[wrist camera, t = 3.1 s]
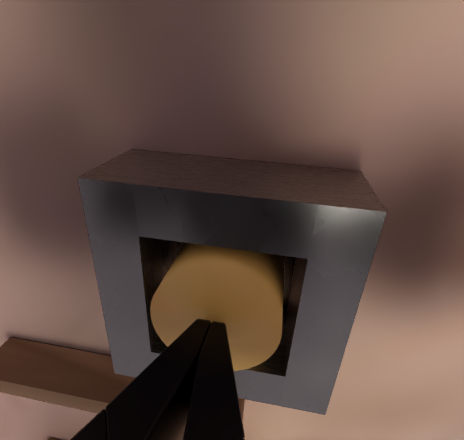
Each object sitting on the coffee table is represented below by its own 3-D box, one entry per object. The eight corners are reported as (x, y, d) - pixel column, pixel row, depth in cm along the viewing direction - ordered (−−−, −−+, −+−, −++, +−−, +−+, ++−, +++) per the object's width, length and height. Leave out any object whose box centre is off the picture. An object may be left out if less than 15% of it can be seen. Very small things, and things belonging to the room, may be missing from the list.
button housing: (318, 343, 14) (324, 414, 11) (148, 314, 15) (114, 373, 12) (360, 171, 10) (386, 212, 7) (131, 149, 11) (77, 178, 8)
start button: (278, 314, 13) (274, 381, 10) (182, 299, 13) (154, 358, 10) (291, 227, 11) (290, 281, 8) (179, 213, 11) (145, 260, 9)
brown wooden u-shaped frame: (235, 488, 21) (228, 536, 19) (52, 445, 23) (27, 484, 21) (246, 381, 16) (239, 430, 14) (10, 337, 18) (-28, 374, 16)
